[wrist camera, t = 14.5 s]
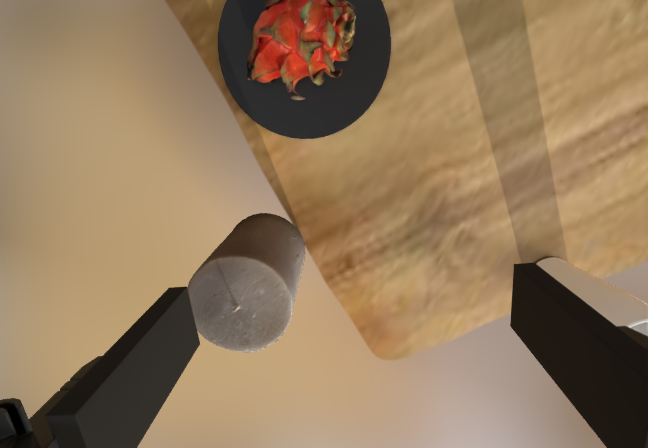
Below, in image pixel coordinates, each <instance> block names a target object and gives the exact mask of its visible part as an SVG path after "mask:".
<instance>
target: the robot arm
mask: <svg viewBox="0 0 648 448" xmlns="http://www.w3.org/2000/svg"><path fill="white" fill-rule="evenodd" d="M510 326H511V327H512V329H513V330H514V331H515V332H516V334H517V335H518V336H519V337H520V339H521V340H522V341H523V343H524V344H525V345H526V346H527V348H528V349H529V350H530V351H531V353H532V354H533V355H534V356H535V358H536V359H537V360H538V361H539V363H540V364H541V365H542V366H543V368H544V369H545V370H546V371H547V373H548V374H549V375H550V376H551V378H552V379H553V380H554V381H555V383H556V384H557V385H558V387H559V388H560V389H561V390H562V391H563V393H564V394H565V395H566V397H567V398H568V399H569V400H570V402H571V403H572V404H573V405H574V406H575V408H576V409H577V410H578V412H579V413H580V414H581V415H582V417H583V418H584V419H585V420H586V421H587V423H588V424H589V426H590V427H591V428H592V429H593V430H594V432H595V433H596V434H597V435H598V437H599V438H600V439H601V441H602V442H603V443H604V445H605V446H606V447H607V448H648V336H646V335H644V334H642V333H640V332H638V331H636V330H633V329H631V328H629V327H627V326H615V325H614V324H613V323H611V322H610V321H609V320H608V319H606V318H605V317H604V316H602V315H601V314H600V313H599V312H597V311H596V310H595V309H593V308H592V307H591V306H590V305H588V304H587V303H586V302H584V301H583V300H582V299H581V298H579V297H578V296H577V295H575V294H574V293H573V292H572V291H570V290H569V289H568V288H566V287H565V286H564V285H563V284H561V283H560V282H559V281H557V280H556V279H555V278H554V277H552V276H551V275H550V274H548V273H547V272H546V271H544V270H543V269H542V268H541V267H539V266H538V265H537V264H535V263H525V264H514V276H513V292H512V308H511V325H510ZM199 345H200V342H199V337H198V333H197V328H196V324H195V320H194V315H193V311H192V306H191V302H190V297H189V293H188V289H187V287H175V288H169V289H168V290H167V291H166V292H165V293H164V294H163V295H162V296H161V297H160V298H159V299H158V300H157V301H156V302H155V303H154V304H153V305H152V306H151V307H150V308H149V309H148V310H147V311H146V312H145V313H144V314H143V315H142V316H141V317H140V318H139V319H138V320H137V321H136V323H134V324H133V325H132V327H131V328H130V329H129V330H128V331H127V332H126V333H125V334H124V335H123V336H122V337H121V338H120V339H119V340H118V341H117V342H116V343H115V344H114V345H113V346H112V347H111V348H110V349H109V350H108V351H107V352H106V353H105V354H104V355H103V356H98V357H97V358H95V359H94V360H92V361H91V362H89V363H88V364H86V365H85V366H83V367H82V368H81V369H80V370H79V371H78V372H77V373H76V374H75V375H74V376H73V377H72V378H71V379H70V381H68V382H67V383H65V384H64V385H63V386H62V387H61V388H60V391H58V392H57V393H55V394H54V395H53V396H52V397H51V398H50V399H49V400H48V401H47V402H46V403H45V404H44V405H43V406H42V407H41V408H40V409H39V410H38V411H37V412H36V413H35V414H34V415H33V416H32V417H31V418H30V419H28V417H27V415H26V412H25V410H24V407H23V405H22V403H21V401H20V400H19V399H15V398H11V399H3V400H0V448H137V447H138V445H139V443H140V442H141V440H142V439H143V437H144V435H145V434H146V432H147V430H148V429H149V427H150V425H151V423H152V422H153V420H154V419H155V417H156V415H157V414H158V412H159V410H160V409H161V407H162V405H163V404H164V402H165V401H166V399H167V397H168V396H169V394H170V392H171V391H172V389H173V387H174V386H175V384H176V382H177V381H178V379H179V377H180V376H181V374H182V373H183V371H184V369H185V368H186V366H187V364H188V363H189V361H190V359H191V358H192V356H193V354H194V353H195V351H196V350H197V348H198V346H199Z"/></svg>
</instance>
